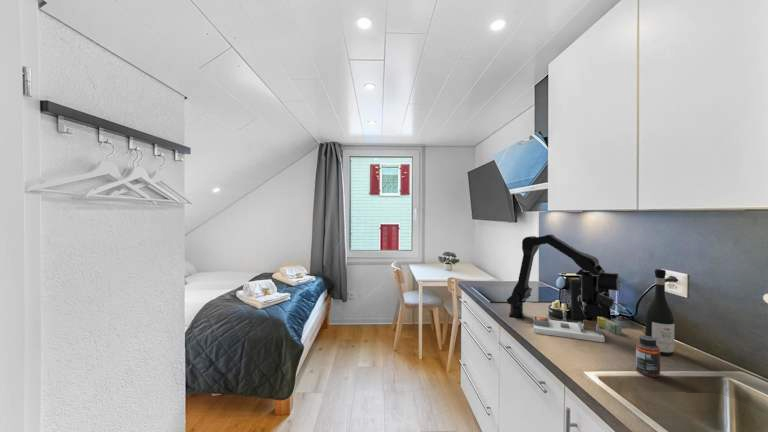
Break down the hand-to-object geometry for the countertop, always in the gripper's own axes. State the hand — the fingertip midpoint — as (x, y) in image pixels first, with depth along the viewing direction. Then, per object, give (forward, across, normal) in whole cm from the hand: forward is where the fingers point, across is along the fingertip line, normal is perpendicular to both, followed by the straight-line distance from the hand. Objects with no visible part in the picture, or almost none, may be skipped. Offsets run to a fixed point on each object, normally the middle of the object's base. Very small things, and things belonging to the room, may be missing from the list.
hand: (589, 323), depth 136 cm
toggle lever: (0, -1, +9) cm, 9 cm away
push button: (+2, -1, +18) cm, 18 cm away
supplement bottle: (+4, -31, -11) cm, 34 cm away
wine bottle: (+4, -10, -20) cm, 23 cm away
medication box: (+5, +9, -9) cm, 13 cm away
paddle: (+2, -2, 0) cm, 3 cm away
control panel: (+4, -1, +9) cm, 10 cm away
